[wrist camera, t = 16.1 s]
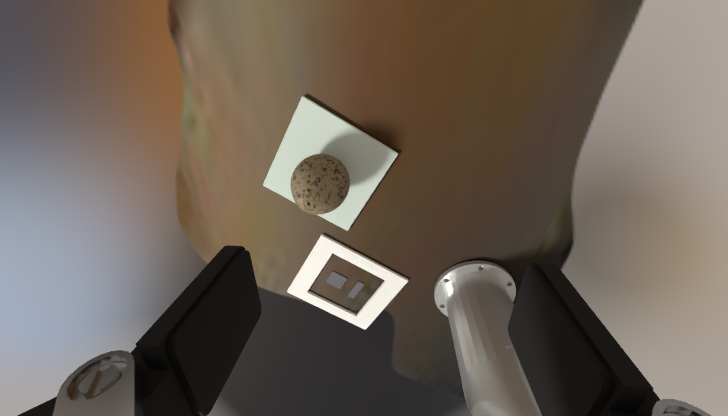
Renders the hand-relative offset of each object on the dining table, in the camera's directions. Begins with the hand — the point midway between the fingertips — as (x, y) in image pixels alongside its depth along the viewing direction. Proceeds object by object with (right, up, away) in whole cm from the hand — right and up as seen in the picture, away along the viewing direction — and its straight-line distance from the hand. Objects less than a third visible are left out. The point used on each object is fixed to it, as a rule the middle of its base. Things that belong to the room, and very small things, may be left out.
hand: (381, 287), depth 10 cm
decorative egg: (-6, +8, +30) cm, 32 cm away
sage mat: (-6, +8, +31) cm, 32 cm away
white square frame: (-4, -10, +40) cm, 41 cm away
